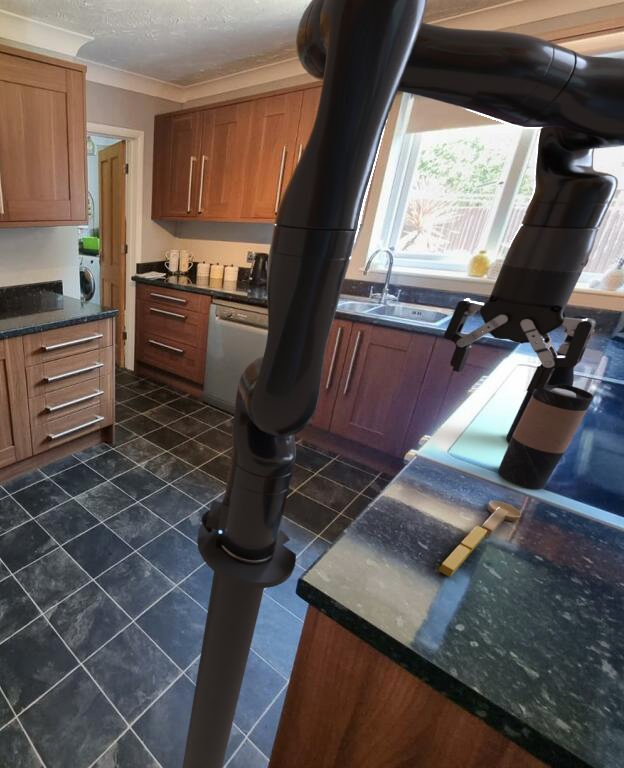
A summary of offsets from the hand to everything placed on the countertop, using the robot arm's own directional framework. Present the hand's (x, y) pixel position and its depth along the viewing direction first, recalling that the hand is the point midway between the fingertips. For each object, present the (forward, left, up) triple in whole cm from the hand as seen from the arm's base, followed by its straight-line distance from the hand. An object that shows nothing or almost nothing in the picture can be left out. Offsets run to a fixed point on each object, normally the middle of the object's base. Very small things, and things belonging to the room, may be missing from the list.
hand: (492, 380), depth 61 cm
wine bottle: (+26, +44, -28) cm, 58 cm away
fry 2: (+6, 0, -28) cm, 29 cm away
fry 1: (+2, -7, -28) cm, 29 cm away
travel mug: (+20, +26, -28) cm, 43 cm away
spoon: (+11, +8, -28) cm, 31 cm away
